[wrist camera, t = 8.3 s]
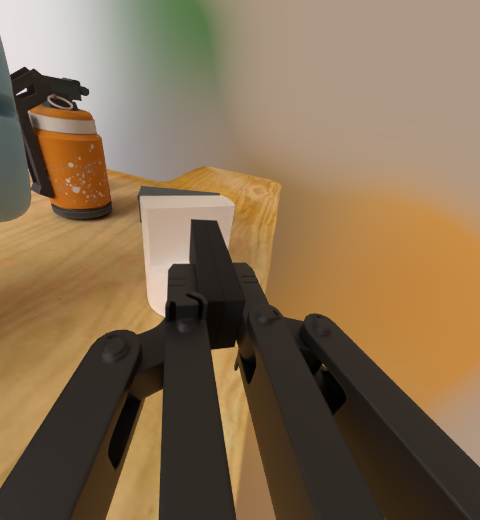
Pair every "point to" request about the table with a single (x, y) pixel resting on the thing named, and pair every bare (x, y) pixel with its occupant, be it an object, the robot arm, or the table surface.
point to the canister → (61, 145)
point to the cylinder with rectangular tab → (175, 235)
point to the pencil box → (169, 193)
